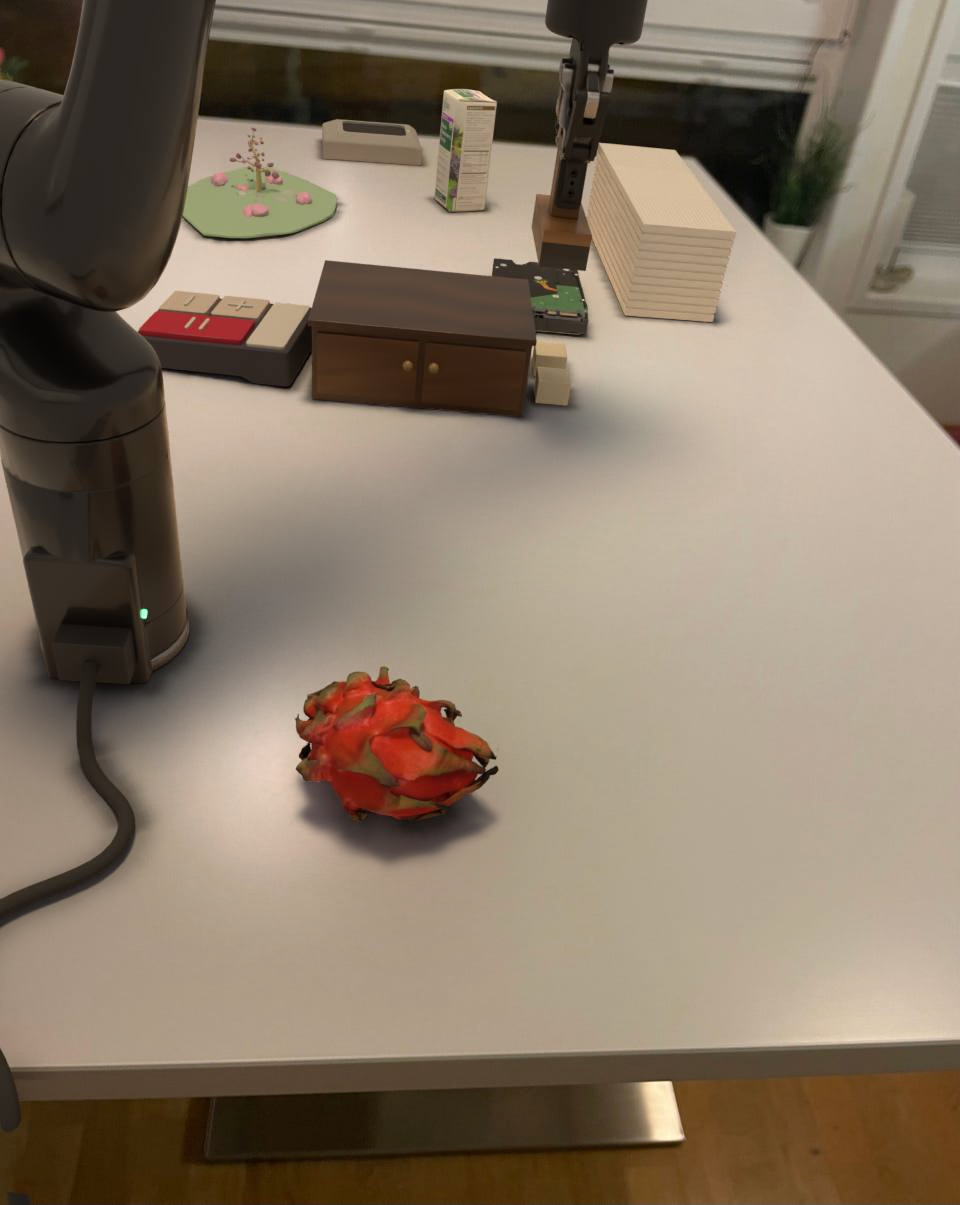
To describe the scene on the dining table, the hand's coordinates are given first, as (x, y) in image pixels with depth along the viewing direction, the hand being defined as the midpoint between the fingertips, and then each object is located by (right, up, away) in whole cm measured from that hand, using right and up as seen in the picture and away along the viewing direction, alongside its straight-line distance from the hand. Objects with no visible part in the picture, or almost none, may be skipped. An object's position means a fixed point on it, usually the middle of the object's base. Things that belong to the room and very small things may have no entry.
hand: (565, 201), depth 86 cm
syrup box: (-10, +22, +58) cm, 63 cm away
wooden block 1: (0, -8, +18) cm, 20 cm away
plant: (-37, +18, +48) cm, 63 cm away
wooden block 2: (0, -12, +13) cm, 18 cm away
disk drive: (-1, 0, +32) cm, 32 cm away
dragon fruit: (-12, -45, -26) cm, 54 cm away
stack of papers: (+14, +9, +46) cm, 49 cm away
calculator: (-32, -9, +15) cm, 37 cm away
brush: (0, -3, +3) cm, 4 cm away
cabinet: (-13, -11, +16) cm, 23 cm away
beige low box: (-24, +36, +73) cm, 85 cm away
